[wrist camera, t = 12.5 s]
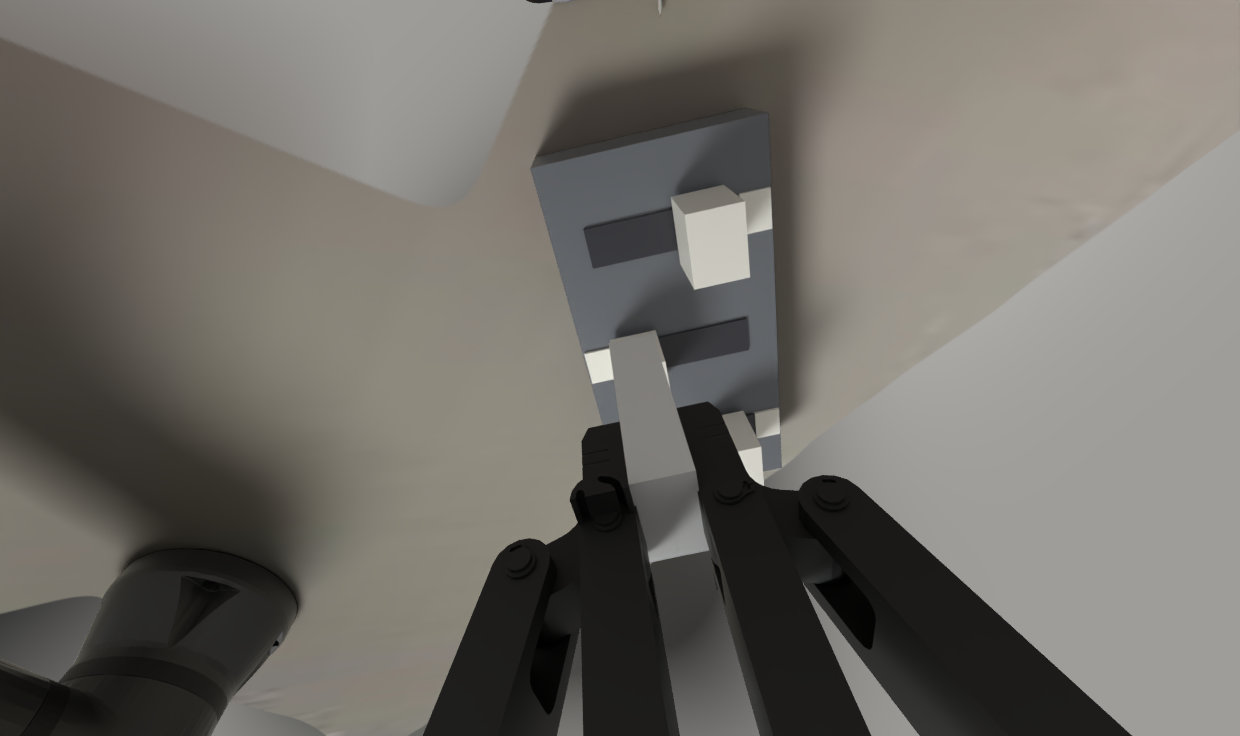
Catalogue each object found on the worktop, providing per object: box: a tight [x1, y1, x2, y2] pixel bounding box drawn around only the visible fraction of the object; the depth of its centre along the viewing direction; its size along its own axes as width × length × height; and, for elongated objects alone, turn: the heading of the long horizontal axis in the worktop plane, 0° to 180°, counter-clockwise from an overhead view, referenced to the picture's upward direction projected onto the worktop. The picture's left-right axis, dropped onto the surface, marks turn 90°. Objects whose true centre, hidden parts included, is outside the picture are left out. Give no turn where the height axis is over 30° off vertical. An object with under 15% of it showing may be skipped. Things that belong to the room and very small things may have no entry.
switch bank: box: [531, 108, 782, 471], centre depth 35 cm, size 13×26×4 cm, turn 12°
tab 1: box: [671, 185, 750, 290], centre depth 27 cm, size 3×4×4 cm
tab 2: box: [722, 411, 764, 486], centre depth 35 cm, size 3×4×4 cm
